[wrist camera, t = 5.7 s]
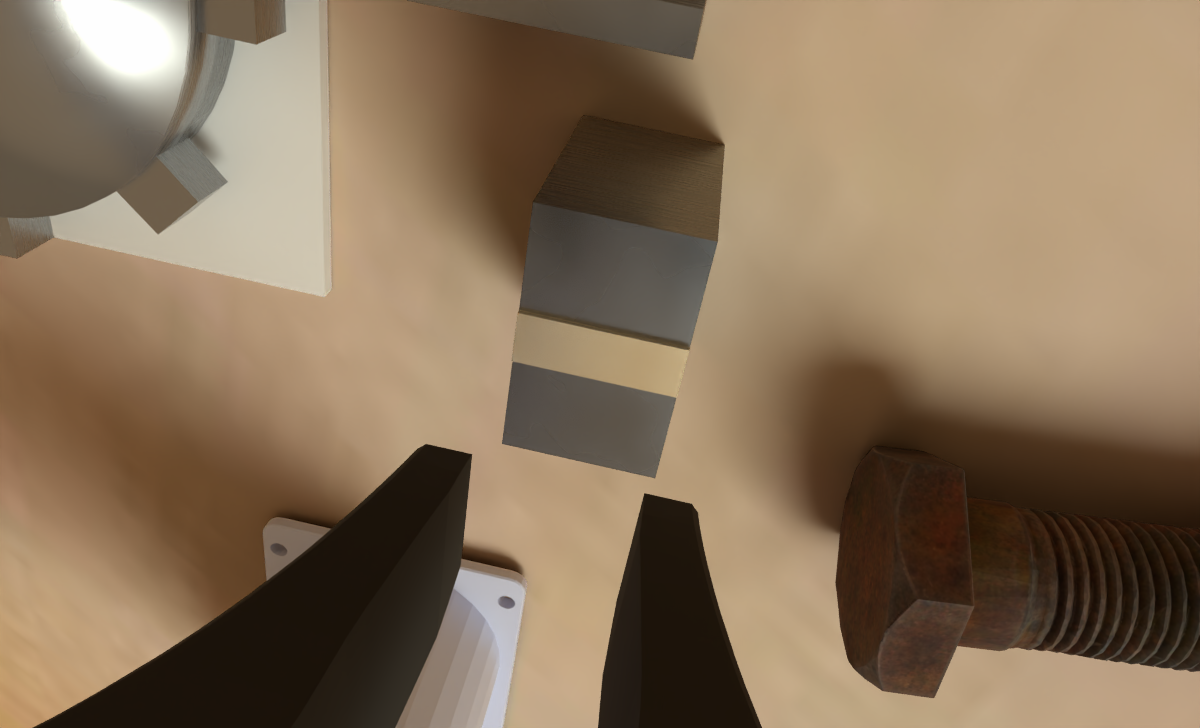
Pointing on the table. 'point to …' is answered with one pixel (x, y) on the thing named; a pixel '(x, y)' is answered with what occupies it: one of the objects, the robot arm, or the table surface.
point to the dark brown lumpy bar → (1001, 578)
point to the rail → (601, 19)
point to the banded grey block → (612, 293)
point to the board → (249, 172)
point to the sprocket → (113, 105)
